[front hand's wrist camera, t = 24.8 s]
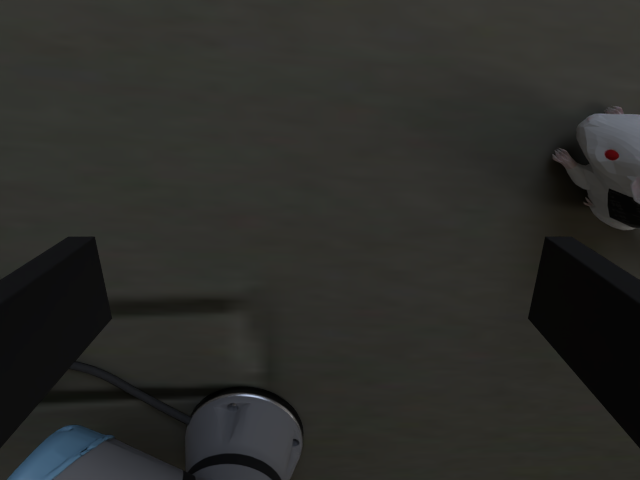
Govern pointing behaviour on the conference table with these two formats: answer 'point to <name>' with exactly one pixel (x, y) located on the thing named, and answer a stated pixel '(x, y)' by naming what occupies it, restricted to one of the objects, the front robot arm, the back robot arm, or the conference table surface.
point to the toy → (609, 166)
